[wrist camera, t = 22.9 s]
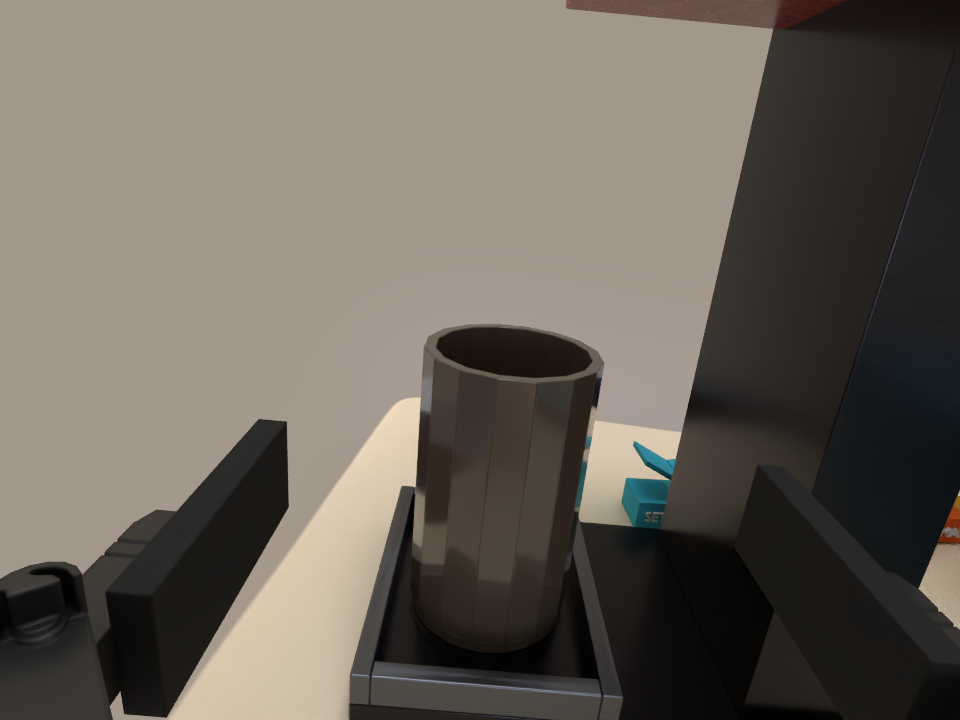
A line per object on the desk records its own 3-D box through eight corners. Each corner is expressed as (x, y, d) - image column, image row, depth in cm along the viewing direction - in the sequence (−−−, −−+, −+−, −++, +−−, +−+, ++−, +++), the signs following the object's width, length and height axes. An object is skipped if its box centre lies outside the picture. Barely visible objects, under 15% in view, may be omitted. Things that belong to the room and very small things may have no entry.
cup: (400, 646, 25) (414, 371, 21) (420, 538, 32) (434, 318, 28) (571, 660, 25) (620, 389, 21) (553, 550, 32) (587, 331, 28)
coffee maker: (348, 723, 23) (365, -313, 12) (399, 520, 35) (428, -72, 25) (865, 764, 23) (1294, -217, 13) (730, 548, 36) (890, -26, 26)
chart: (635, 530, 37) (683, 303, 32) (621, 501, 40) (663, 291, 35) (1069, 550, 39) (1177, 341, 34) (1025, 522, 42) (1118, 326, 37)
